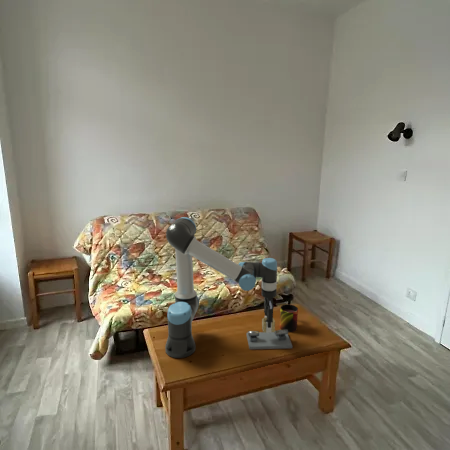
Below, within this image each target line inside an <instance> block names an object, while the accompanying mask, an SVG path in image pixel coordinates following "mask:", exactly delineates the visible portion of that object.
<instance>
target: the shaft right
mask: <svg viewBox="0 0 450 450" xmlns="http://www.w3.org/2000/svg"><path fill="white" fill-rule="evenodd" d="M285 334H288V335H289V332H288V330H287V329H283V330H281V329H278V330H276V329H275V335H276V336H277V338H278V339H279V341H281V340H286V336H285Z"/></svg>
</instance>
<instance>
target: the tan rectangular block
mask: <svg viewBox="0 0 450 450" xmlns="http://www.w3.org/2000/svg"><path fill="white" fill-rule="evenodd" d="M265 320H267V318H265V317H263V318H261V329H262V332H263V333H265V332H266V321H265ZM275 331H276V320H275V318H274V317H273V322H272V332H275Z"/></svg>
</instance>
